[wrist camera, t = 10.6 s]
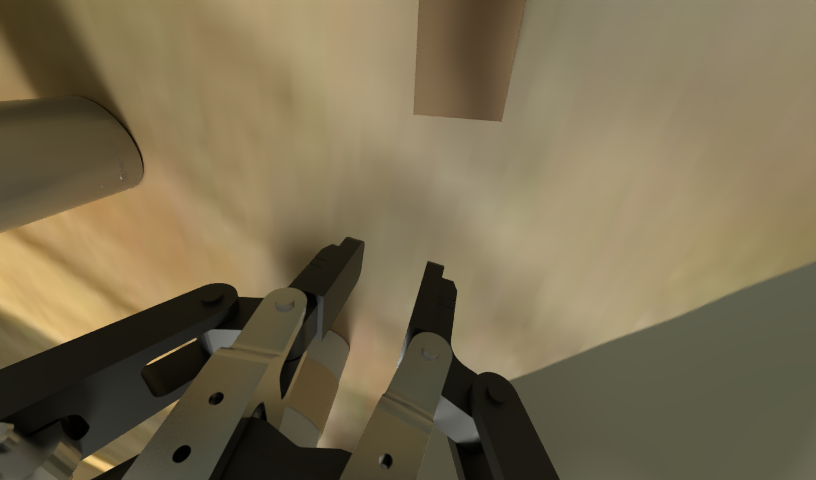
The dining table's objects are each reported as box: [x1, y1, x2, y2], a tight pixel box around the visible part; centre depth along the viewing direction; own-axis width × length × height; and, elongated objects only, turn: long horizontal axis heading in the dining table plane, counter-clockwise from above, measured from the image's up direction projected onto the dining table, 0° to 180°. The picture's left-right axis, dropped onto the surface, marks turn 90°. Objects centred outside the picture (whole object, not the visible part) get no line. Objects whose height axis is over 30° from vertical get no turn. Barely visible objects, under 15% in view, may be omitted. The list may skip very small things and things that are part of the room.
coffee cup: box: [279, 330, 350, 448], centre depth 32 cm, size 9×9×15 cm
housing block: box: [414, 0, 526, 122], centre depth 16 cm, size 5×9×5 cm, turn 178°
